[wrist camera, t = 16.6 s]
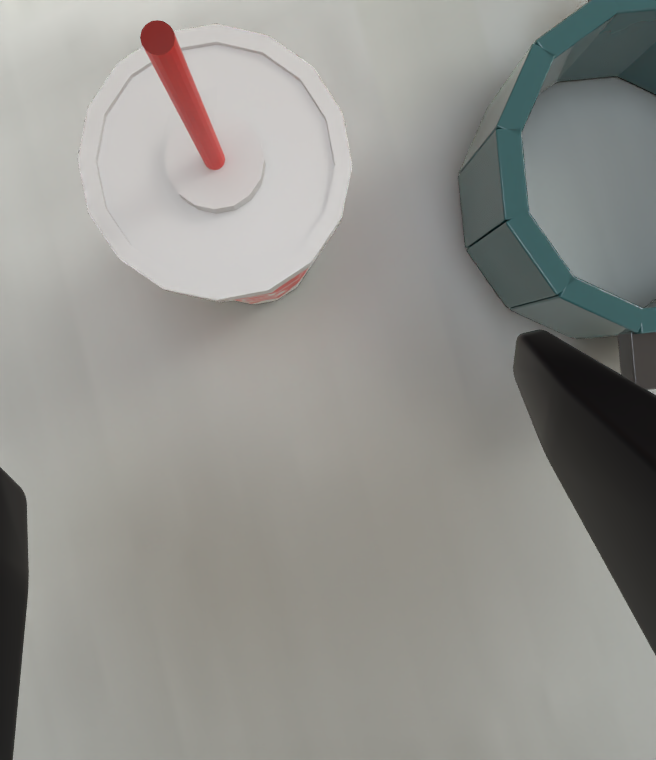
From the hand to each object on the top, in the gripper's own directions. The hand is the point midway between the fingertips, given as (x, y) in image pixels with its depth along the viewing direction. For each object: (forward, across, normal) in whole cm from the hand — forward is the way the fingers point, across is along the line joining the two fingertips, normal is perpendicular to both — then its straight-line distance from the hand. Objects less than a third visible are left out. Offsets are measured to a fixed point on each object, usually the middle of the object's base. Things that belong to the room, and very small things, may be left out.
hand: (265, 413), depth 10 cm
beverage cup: (+13, 0, +5) cm, 14 cm away
